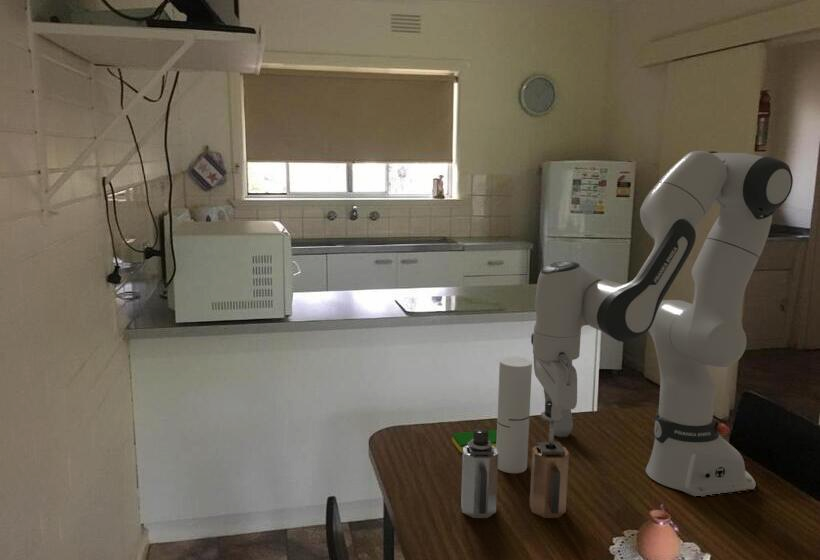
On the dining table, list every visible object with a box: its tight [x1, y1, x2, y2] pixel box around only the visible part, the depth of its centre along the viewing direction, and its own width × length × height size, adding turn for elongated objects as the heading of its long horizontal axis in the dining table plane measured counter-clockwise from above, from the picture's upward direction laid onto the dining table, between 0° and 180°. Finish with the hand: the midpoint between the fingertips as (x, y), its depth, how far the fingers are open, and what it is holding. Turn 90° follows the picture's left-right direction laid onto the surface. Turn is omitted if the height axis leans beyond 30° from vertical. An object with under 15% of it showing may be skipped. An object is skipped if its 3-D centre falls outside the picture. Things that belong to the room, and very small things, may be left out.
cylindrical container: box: [496, 356, 533, 474], centre depth 150 cm, size 7×7×25 cm
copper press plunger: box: [540, 401, 564, 449], centre depth 131 cm, size 4×4×12 cm
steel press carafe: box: [460, 442, 499, 519], centre depth 131 cm, size 7×9×13 cm
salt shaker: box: [554, 409, 574, 438], centre depth 170 cm, size 6×6×13 cm
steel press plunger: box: [469, 428, 492, 450], centre depth 132 cm, size 4×4×12 cm
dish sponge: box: [451, 428, 497, 454], centre depth 164 cm, size 7×14×2 cm, turn 105°
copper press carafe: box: [529, 441, 570, 519], centre depth 132 cm, size 7×9×13 cm
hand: (552, 414), depth 130 cm, fingers closed on copper press plunger, 3 cm apart
